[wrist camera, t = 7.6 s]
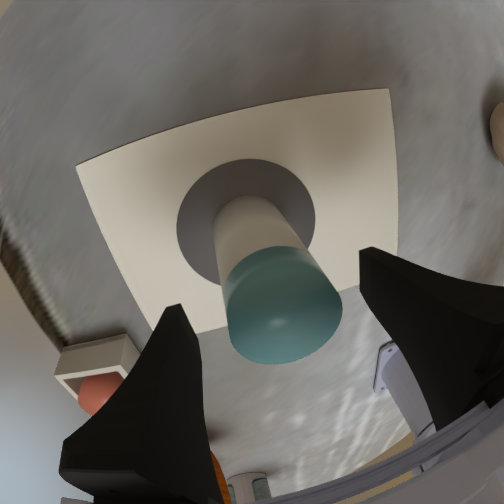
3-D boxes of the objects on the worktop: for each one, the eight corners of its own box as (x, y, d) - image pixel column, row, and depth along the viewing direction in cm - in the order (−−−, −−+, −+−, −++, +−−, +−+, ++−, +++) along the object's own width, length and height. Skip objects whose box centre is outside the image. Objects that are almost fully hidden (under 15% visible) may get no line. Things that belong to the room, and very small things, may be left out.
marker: (275, 187, 16) (339, 260, 9) (288, 249, 18) (343, 343, 11) (203, 207, 16) (213, 297, 9) (223, 268, 18) (245, 375, 11)
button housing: (126, 333, 19) (120, 364, 16) (161, 382, 22) (160, 412, 19) (63, 346, 19) (53, 375, 16) (102, 392, 22) (97, 419, 19)
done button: (117, 364, 18) (113, 387, 16) (145, 397, 20) (144, 418, 18) (72, 372, 18) (66, 393, 16) (101, 403, 20) (98, 423, 18)
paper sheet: (387, 88, 14) (389, 88, 14) (395, 269, 21) (396, 270, 21) (76, 166, 13) (74, 166, 13) (160, 341, 20) (160, 343, 20)
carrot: (172, 445, 28) (183, 562, 15) (187, 428, 26) (203, 561, 13) (211, 451, 30) (229, 560, 17) (229, 435, 28) (254, 557, 15)
